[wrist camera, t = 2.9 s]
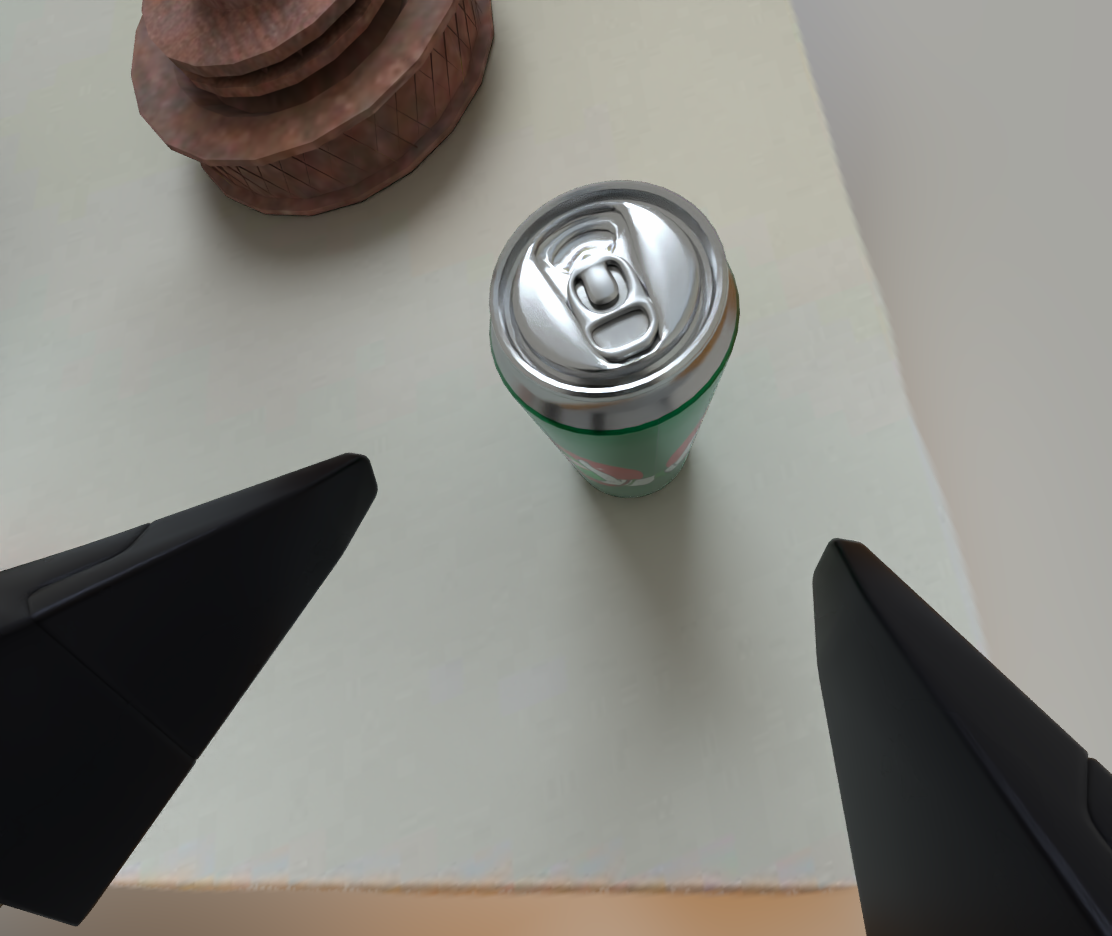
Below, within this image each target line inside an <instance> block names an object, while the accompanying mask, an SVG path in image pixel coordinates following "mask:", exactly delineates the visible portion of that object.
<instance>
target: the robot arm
mask: <svg viewBox="0 0 1112 936" xmlns="http://www.w3.org/2000/svg"><path fill="white" fill-rule="evenodd" d="M377 490H378V486H377V482H376V479H375V476H374V473H373V469H372V466H371V463H370V460H369V459H368V458H367V456H365V455H361V454H355V453H345V454H342V455H339V456H336V457H333V458H331V459H328V460H325V461H322V462H319V463H317V464H314V465H311V466H308V467H305V468H302V469H300V470H297V471H294V472H291V473H288V474H285V475H283V476H280V477H277V478H274V479H271V480H269V481H266V482H263V483H260V484H257V485H254V486H252V487H249V488H246V489H243V490H240V491H237V492H235V493H232V494H229V495H226V496H223V497H221V498H218V499H215V500H212V501H209V502H206V503H204V504H201V505H198V506H195V507H192V508H189V509H187V510H184V511H181V512H178V513H175V514H173V515H170V516H167V517H164V518H161V519H158V520H156V521H153V522H152V523H147V524H144V525H141V526H138V527H136V528H133V529H130V530H127V531H124V532H121V533H118V534H115V535H113V536H110V537H107V538H104V539H101V540H98V541H95V542H92V543H89V544H86V545H83V546H80V547H77V548H74V549H71V550H68V551H64V552H61V553H58V554H55V555H52V556H49V557H46V558H42V559H39V560H36V561H33V562H30V563H26V564H23V565H20V566H17V567H14V568H10V569H7V570H4V571H1V572H0V907H1V906H2V905H3V904H4V905H7V906H11V907H14V908H17V909H20V910H23V911H27V912H30V913H33V914H36V915H40V916H43V917H46V918H50V919H53V920H56V921H59V922H63V923H66V924H69V925H72V926H78V925H79V924H80V923H81V922H82V921H83V920H84V918H85V917H86V916H87V915H88V914H89V912H90V911H91V910H92V908H93V907H94V906H95V904H96V903H97V902H98V900H99V899H100V897H101V896H102V894H103V893H104V891H105V890H106V889H107V887H108V886H109V885H110V883H111V882H112V880H113V879H114V878H115V876H116V875H117V873H118V872H119V870H120V869H121V868H122V866H123V865H124V863H125V862H126V861H127V859H128V858H129V856H130V855H131V854H132V852H133V851H134V849H135V848H136V846H137V845H138V844H139V842H140V841H141V839H142V838H143V837H144V835H145V834H146V832H147V831H148V829H149V828H150V827H151V825H152V824H153V822H154V821H155V820H156V818H157V817H158V815H159V814H160V813H161V811H162V810H163V808H164V807H165V805H166V804H167V803H168V801H169V800H170V798H171V797H172V796H173V794H174V793H175V791H176V790H177V788H178V787H179V786H180V784H181V783H182V781H183V780H184V779H185V777H186V776H187V774H188V773H189V772H190V770H191V769H192V767H193V766H194V764H195V763H196V759H198V758H199V757H200V755H201V754H202V753H203V751H204V750H205V748H206V747H207V746H208V744H209V743H210V741H211V740H212V738H213V737H214V736H215V734H216V733H217V731H218V730H219V729H220V727H221V726H222V724H223V723H224V722H225V720H226V719H227V717H228V716H229V715H230V713H231V712H232V710H233V709H234V707H235V706H236V705H237V703H238V702H239V700H240V699H241V698H242V696H243V695H244V693H245V692H246V691H247V689H248V688H249V686H250V685H251V683H252V682H253V681H254V679H255V678H256V676H257V675H258V674H259V672H260V671H261V669H262V668H263V667H264V665H265V664H266V662H267V661H268V659H269V658H270V657H271V655H272V654H273V652H274V651H275V650H276V648H277V647H278V645H279V644H280V643H281V641H282V640H283V638H284V637H285V635H286V634H287V633H288V631H289V630H290V628H291V627H292V626H293V624H294V623H295V621H296V620H297V619H298V617H299V616H300V614H301V613H302V611H303V610H304V609H305V607H306V606H307V604H308V603H309V602H310V600H311V599H312V597H313V596H314V595H315V593H316V592H317V590H318V589H319V587H320V586H321V585H322V583H323V582H324V580H325V579H326V578H327V576H328V575H329V573H330V572H331V571H332V569H333V568H334V566H335V565H336V563H337V562H338V561H339V559H340V558H341V556H342V555H343V553H344V551H345V550H346V548H347V546H348V545H349V543H350V541H351V539H352V538H353V536H354V534H355V532H356V531H357V529H358V527H359V525H360V524H361V522H362V520H363V518H364V517H365V515H366V513H367V511H368V510H369V508H370V506H371V504H372V502H373V501H374V499H375V497H376V495H377ZM813 601H814V619H815V637H816V654H817V666H818V673H819V679H820V685H821V690H822V696H823V701H824V707H825V712H826V718H827V723H828V728H829V734H830V739H831V745H832V750H833V756H834V761H835V766H836V772H837V777H838V783H839V788H840V794H841V799H842V804H843V810H844V815H845V821H846V826H847V832H848V837H849V842H850V848H851V853H852V859H853V864H854V870H855V875H856V880H857V886H858V891H859V897H860V902H861V908H862V913H863V918H864V924H865V929H866V934H867V936H1112V774H1111V773H1110V772H1109V771H1108V770H1107V769H1105V768H1104V767H1103V766H1102V765H1101V764H1100V763H1099V762H1098V761H1097V760H1095V759H1093V758H1088V753H1087V751H1086V750H1085V749H1084V748H1083V747H1081V746H1080V745H1079V744H1078V743H1077V742H1076V741H1075V740H1074V739H1073V738H1072V737H1071V736H1070V735H1068V734H1067V733H1066V732H1065V731H1064V730H1063V729H1062V728H1061V727H1060V726H1059V725H1058V724H1057V723H1055V722H1054V721H1053V720H1052V719H1051V718H1050V717H1049V716H1048V715H1047V714H1046V713H1045V712H1044V711H1043V710H1042V709H1041V708H1039V707H1038V706H1037V705H1036V704H1035V703H1034V702H1033V701H1032V700H1030V698H1028V696H1027V695H1025V694H1024V693H1023V692H1022V691H1021V690H1020V689H1019V688H1018V687H1017V686H1015V684H1014V683H1013V682H1011V681H1010V680H1009V679H1008V678H1007V677H1006V676H1005V675H1004V674H1003V673H1002V672H1001V671H1000V670H998V669H997V668H996V667H995V666H994V665H993V664H992V663H991V662H990V661H989V660H988V659H987V658H986V657H984V656H983V655H982V654H981V653H980V652H979V651H978V650H977V649H976V648H975V647H974V646H973V645H972V644H970V643H969V642H968V641H967V640H966V639H965V638H964V637H963V636H962V635H961V634H960V633H959V632H958V631H956V630H955V629H954V628H953V627H952V626H951V625H950V624H949V623H948V622H947V621H946V620H945V619H944V618H942V617H941V616H940V615H939V614H938V613H937V612H936V611H935V610H934V609H933V608H932V607H931V606H929V605H928V604H927V603H926V602H925V601H924V600H923V599H922V598H921V597H920V596H919V595H918V594H917V593H915V592H914V591H913V590H912V589H911V588H910V587H909V586H908V585H907V584H906V583H905V582H904V581H903V580H901V579H900V578H899V577H898V576H897V575H896V574H895V573H894V572H893V571H892V570H891V569H890V568H889V567H887V566H886V565H885V564H884V563H883V562H882V561H881V560H880V559H879V558H878V557H877V556H876V555H875V554H873V553H872V552H871V551H870V550H869V549H868V548H867V547H866V546H865V545H863V544H862V543H860V542H857V541H852V540H846V539H840V538H834V539H832V540H831V541H830V542H829V543H828V545H827V547H826V549H825V551H824V553H823V555H822V557H821V559H820V561H819V563H818V565H817V567H816V569H815V571H814V574H813Z"/></svg>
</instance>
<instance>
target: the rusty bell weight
mask: <svg viewBox="0 0 1112 936" xmlns="http://www.w3.org/2000/svg"><path fill="white" fill-rule="evenodd" d="M142 14H143V15H142V17H141V20H140V22H139V25H138V27H137V30H136V35H135V43H134V52H133V61H132V69H131V78H132V82H133V86H134V91H135V95H136V99H137V104H138V108H139V113H140V115H141V116H142V117H143V118H144V119H145V121H146V122H147V123H148V124H149V125H150V126H151V127H152V129H153V130H154V131H155V132H156V133H157V134H158V136H159V137H160V138H161V139H162V140H163V141H164V142H165V144H166V145H167V146H168V147H169V148H170V149H171V150H173V151H176V152H178V153H180V154H183V155H185V156H187V157H190V158H192V159H195V160H197V161H199V162H200V163H201V166H202V168H203V170H204V171H205V172H206V173H207V174H208V175H209V177H210V178H211V179H212V180H213V181H214V182H215V184H216V185H217V186H218V187H219V188H220V189H221V191H222V192H223V193H224V194H225V195H226V196H227V197H228V198H230V199H233V200H235V201H237V202H239V203H242V204H244V205H246V206H248V207H251V208H253V209H255V210H257V211H260V212H262V213H264V214H278V215H307V216H312V215H316V214H319V213H323V212H326V211H330V210H333V209H337V208H340V207H344V206H347V205H351V204H354V203H358V202H362V201H363V200H365V199H367V198H368V197H370V196H372V195H373V194H375V193H377V192H378V191H380V190H382V189H384V188H385V187H387V186H389V185H390V184H392V183H394V182H395V181H397V180H399V179H400V178H402V177H404V176H405V175H407V174H409V173H410V172H412V171H413V170H414V169H415V168H416V167H417V166H418V165H419V164H420V163H421V162H422V161H423V160H424V159H425V158H426V157H427V156H428V155H429V154H430V153H431V152H432V151H433V150H434V149H435V148H436V147H437V146H438V145H439V144H440V143H441V142H442V141H443V140H444V139H445V138H446V137H447V136H448V135H449V134H450V133H451V132H452V131H453V130H454V128H455V126H456V125H457V123H458V121H459V120H460V118H461V116H462V115H463V113H464V111H465V110H466V108H467V106H468V105H469V103H470V101H471V100H472V98H473V96H474V95H475V93H476V91H477V90H478V88H479V86H480V85H481V83H482V79H483V75H484V71H485V67H486V63H487V59H488V55H489V52H490V48H491V44H492V40H493V36H494V29H493V20H492V10H491V1H490V0H143V2H142Z"/></svg>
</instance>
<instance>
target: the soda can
mask: <svg viewBox="0 0 1112 936" xmlns="http://www.w3.org/2000/svg"><path fill="white" fill-rule="evenodd" d="M489 307H490V330H489V336H490V345H491V352H492V356H493V359H494V363H495V366H496V369H497V371H498V373H499V375H500V377H501V379H502V381H503V383H504V385H505V386H506V387H507V389H508V390H509V392H510V393H511V394H512V396H513V397H514V398H515V399H516V401H517V402H518V403H519V404H520V405H521V406H522V407H523V409H524V410H525V411H526V412H527V413H528V414H529V416H530V417H531V418H532V419H533V420H534V421H535V422H536V424H537V425H538V426H539V427H540V428H541V429H542V430H543V432H544V433H545V434H546V435H547V436H548V437H549V438H550V440H551V441H552V442H553V443H554V444H555V445H556V446H557V448H558V449H559V450H560V451H561V452H562V453H563V454H564V456H565V457H566V458H567V459H568V460H569V461H570V463H571V464H572V465H573V466H574V467H575V468H576V469H577V471H578V472H579V473H580V474H581V475H582V476H583V477H584V478H585V479H586V480H587V481H588V482H589V483H590V484H591V485H592V486H594V487H595V488H596V489H598V490H600V491H602V492H604V493H606V494H609V495H613V496H617V497H623V498H635V497H641V496H645V495H648V494H651V493H654V492H656V491H658V490H660V489H662V488H663V487H664V486H666V485H667V484H668V483H670V482H671V481H672V480H673V479H674V478H675V477H676V475H677V474H678V473H679V471H680V470H681V469H682V467H683V465H684V463H685V461H686V458H687V456H688V454H689V451H690V449H691V447H692V444H693V442H694V439H695V437H696V435H697V432H698V430H699V428H700V425H701V423H702V421H703V418H704V416H705V414H706V411H707V409H708V407H709V404H710V402H711V400H712V397H713V395H714V392H715V390H716V388H717V385H718V383H719V381H720V378H721V376H722V374H723V371H724V369H725V367H726V364H727V362H728V360H729V357H730V355H731V352H732V349H733V346H734V343H735V339H736V336H737V333H738V324H739V316H740V308H739V294H738V290H737V286H736V282H735V278H734V275H733V273H732V271H731V268H730V266H729V264H728V262H727V260H726V256H725V252H724V248H723V245H722V243H721V241H720V238H719V236H718V234H717V232H716V230H715V228H714V227H713V226H712V224H711V223H710V221H709V220H708V219H707V217H706V216H705V215H704V214H703V213H702V212H701V211H700V210H699V209H698V208H697V207H696V206H695V205H694V204H692V203H691V202H689V201H688V200H686V199H685V198H683V197H682V196H681V195H679V194H677V193H675V192H672V191H670V190H668V189H666V188H664V187H660V186H657V185H653V184H650V183H646V182H638V181H630V180H616V181H605V182H598V183H592V184H589V185H585V186H582V187H578V188H575V189H573V190H571V191H568V192H566V193H564V194H561V195H559V196H557V197H556V198H554V199H552V200H551V201H549V202H547V203H546V204H544V205H543V206H541V207H540V208H539V209H538V210H536V211H535V212H534V213H532V214H531V215H530V216H529V217H528V218H527V219H526V220H525V221H524V222H523V223H522V224H521V225H520V226H519V227H518V228H517V229H516V231H515V232H514V233H513V235H512V236H511V237H510V239H509V240H508V241H507V243H506V245H505V247H504V249H503V250H502V252H501V254H500V256H499V258H498V261H497V264H496V266H495V269H494V272H493V276H492V281H491V285H490V297H489Z"/></svg>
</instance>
